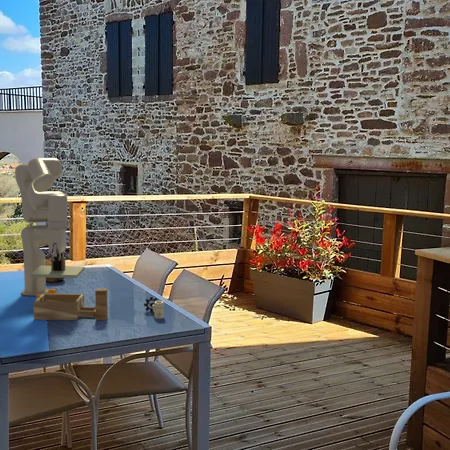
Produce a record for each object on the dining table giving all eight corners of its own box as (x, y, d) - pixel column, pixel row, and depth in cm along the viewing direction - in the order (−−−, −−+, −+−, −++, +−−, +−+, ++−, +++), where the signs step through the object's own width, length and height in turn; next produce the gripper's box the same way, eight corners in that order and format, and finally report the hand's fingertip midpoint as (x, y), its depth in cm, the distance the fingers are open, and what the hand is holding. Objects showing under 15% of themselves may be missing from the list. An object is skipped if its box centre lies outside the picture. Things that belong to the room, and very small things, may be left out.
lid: (41, 268, 255) (41, 253, 254) (84, 269, 255) (84, 254, 254) (30, 277, 240) (30, 261, 239) (76, 278, 240) (76, 262, 239)
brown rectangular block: (97, 317, 247) (97, 288, 245) (107, 317, 247) (107, 288, 245) (95, 320, 243) (95, 290, 241) (105, 320, 243) (105, 291, 241)
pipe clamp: (47, 302, 268) (47, 288, 267) (56, 303, 267) (56, 289, 266) (33, 310, 256) (32, 295, 255) (42, 310, 255) (42, 295, 254)
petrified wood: (70, 281, 307) (65, 262, 305) (44, 288, 302) (39, 269, 299) (62, 272, 324) (57, 254, 322) (37, 279, 319) (32, 261, 317)
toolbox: (43, 309, 256) (43, 293, 255) (99, 310, 257) (99, 294, 256) (34, 319, 242) (33, 302, 241) (93, 320, 243) (93, 303, 242)
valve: (168, 318, 248) (158, 310, 258) (168, 302, 247) (158, 295, 257) (153, 320, 245) (143, 312, 255) (153, 304, 244) (143, 297, 254)
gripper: (53, 221, 252) (54, 264, 255) (42, 227, 236) (43, 273, 239) (71, 221, 252) (72, 265, 255) (62, 228, 236) (62, 274, 239)
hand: (58, 268), depth 247 cm, fingers closed on lid, 2 cm apart
